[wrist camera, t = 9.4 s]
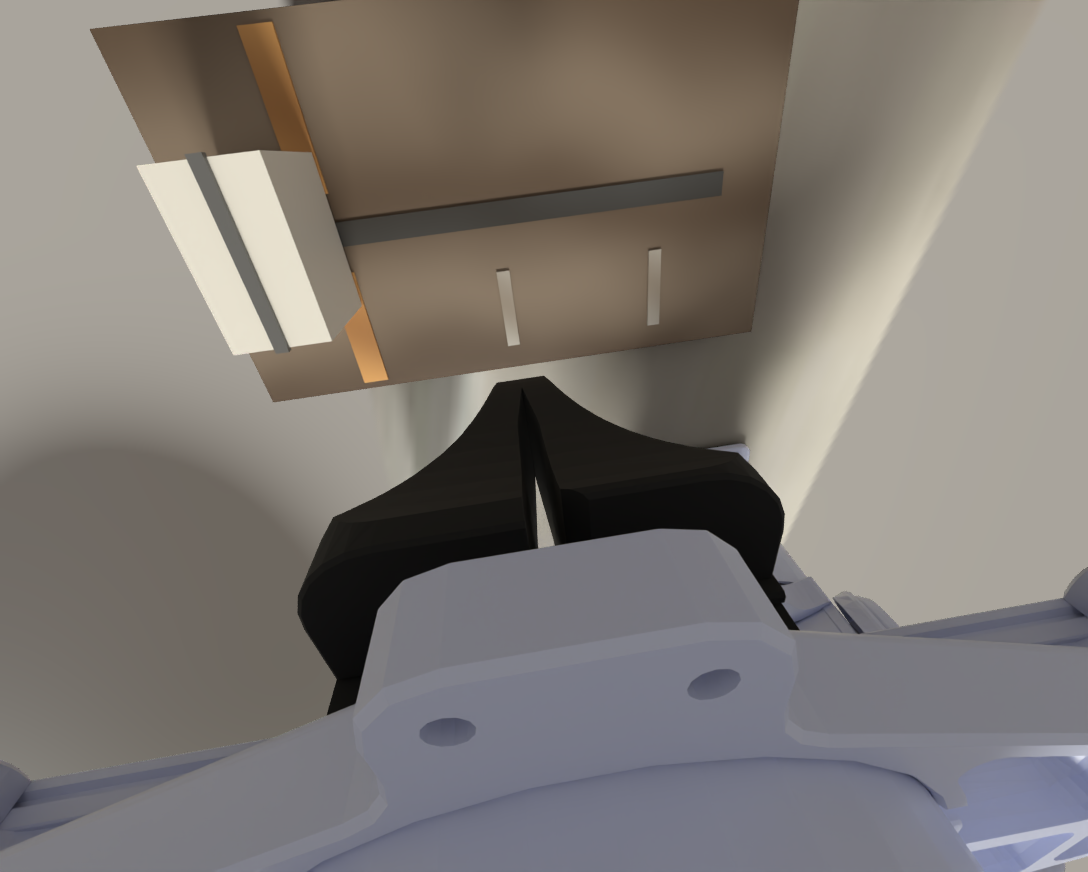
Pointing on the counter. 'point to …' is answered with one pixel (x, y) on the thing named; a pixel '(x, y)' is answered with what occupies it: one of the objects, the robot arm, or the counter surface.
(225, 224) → the fader knob
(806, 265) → the counter surface
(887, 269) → the counter surface
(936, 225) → the counter surface
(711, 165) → the fader console
